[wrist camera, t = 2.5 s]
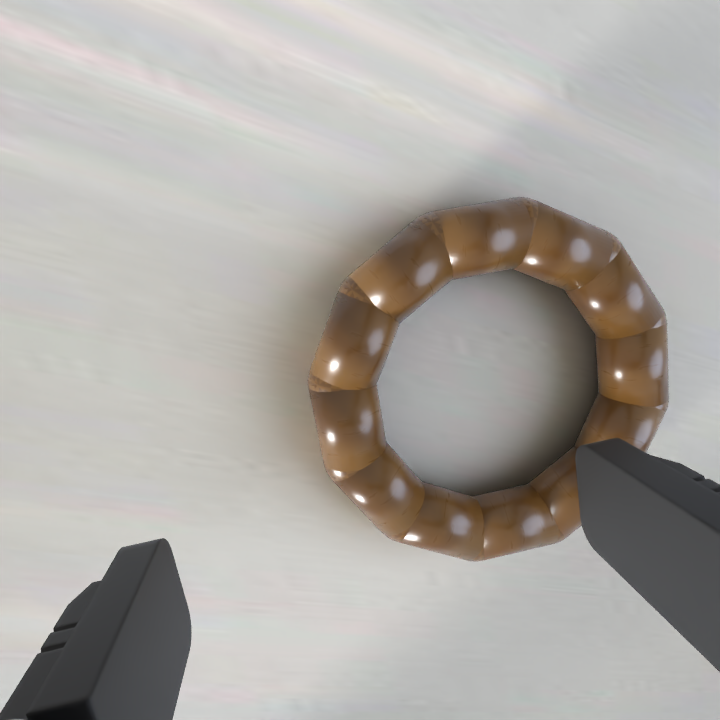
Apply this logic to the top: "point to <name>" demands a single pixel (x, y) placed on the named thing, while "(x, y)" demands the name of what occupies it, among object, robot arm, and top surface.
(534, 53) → the top surface
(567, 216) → the ring
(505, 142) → the top surface
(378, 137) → the top surface
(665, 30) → the top surface
